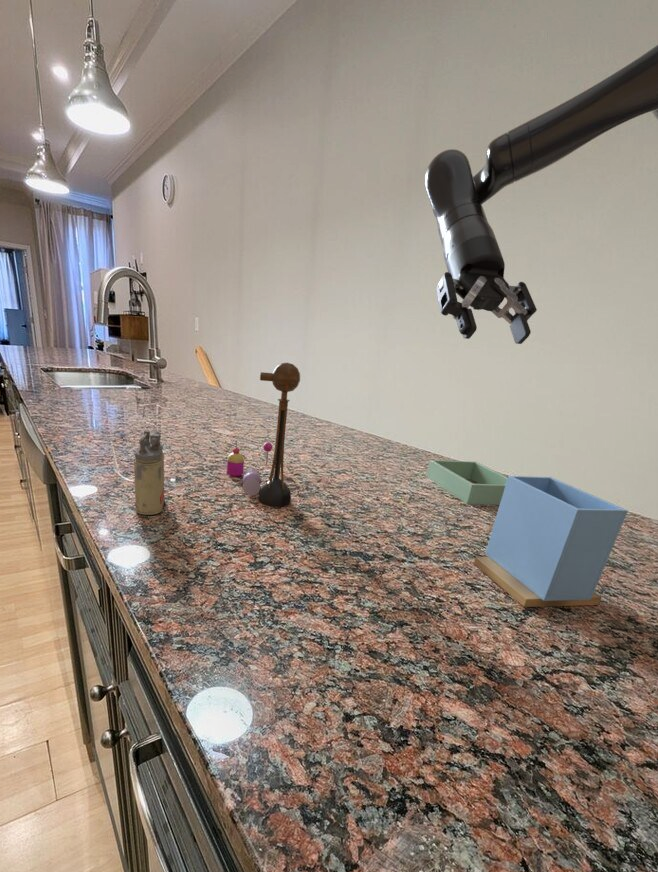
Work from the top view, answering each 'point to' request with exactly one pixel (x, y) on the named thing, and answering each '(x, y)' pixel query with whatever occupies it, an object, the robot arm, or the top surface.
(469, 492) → the bottom bin
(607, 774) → the top surface
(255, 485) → the candy
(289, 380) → the wooden tabletop sculpture
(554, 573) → the top bin
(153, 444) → the beige upright cylinder
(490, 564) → the cork mat
